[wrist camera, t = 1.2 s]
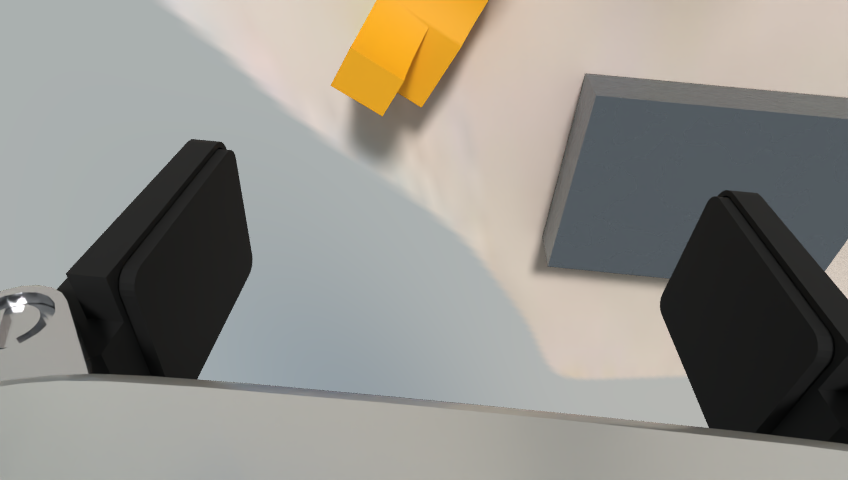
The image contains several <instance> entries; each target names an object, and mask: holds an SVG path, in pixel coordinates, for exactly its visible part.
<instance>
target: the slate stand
mask: <svg viewBox="0 0 848 480" xmlns="http://www.w3.org/2000/svg"><path fill="white" fill-rule="evenodd" d="M725 190H731V191H742V192H752V193H758V194H759V195H760V196H761V197H762V198H763V199H764V200H765V201H766V202H767V204H768V205H769V206H770V207H771V208H772V210H773V211H774V212H775V213H776V214H777V216H778V217H779V218H780V219H781V220H782V222H783V223H784V224H785V225H786V226H787V228H788V229H789V230H790V231H791V232H792V233H793V235H794V236H795V237H796V238H797V239H798V241H799V242H800V243H801V244H802V245H803V247H804V248H805V249H806V250H807V251H808V253H809V254H810V255H811V256H812V257H813V259H814V260H815V261H816V262H817V263H818V264H819V266H820V267H821V268H822V269H823V270H824V271H825V270H826V269H827V267H828V266H829V264H830V263H831V262H832V260H833V259H834V258H835V256H836V255H837V253H838V252H839V251H840V249H841V248H842V246H843V245H844V244H845V242H846V241H847V239H848V98H842V97H831V96H820V95H810V94H799V93H788V92H778V91H767V90H756V89H745V88H735V87H724V86H713V85H703V84H692V83H681V82H671V81H660V80H649V79H638V78H628V77H617V76H606V75H596V74H585V78H584V81H583V85H582V89H581V93H580V97H579V100H578V104H577V108H576V112H575V116H574V119H573V123H572V127H571V131H570V135H569V138H568V142H567V146H566V150H565V154H564V157H563V161H562V165H561V169H560V173H559V176H558V180H557V184H556V188H555V192H554V196H553V199H552V203H551V207H550V211H549V215H548V218H547V222H546V226H545V230H544V234H543V242H544V248H545V253H546V259H547V265H548V266H549V267H559V268H569V269H579V270H589V271H599V272H609V273H619V274H629V275H639V276H649V277H659V278H669V279H670V278H671V276H672V273H673V271H674V269H675V267H676V265H677V263H678V261H679V259H680V257H681V255H682V253H683V251H684V249H685V247H686V245H687V243H688V241H689V239H690V237H691V235H692V232H693V230H694V228H695V226H696V224H697V222H698V220H699V218H700V216H701V214H702V212H703V210H704V208H705V206H706V204H707V202H708V200H709V199H710V198H711V197H714V196H718V195H719V194H720V193H721V192H722V191H725Z"/></svg>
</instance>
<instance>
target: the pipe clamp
mask: <svg viewBox="0 0 848 480" xmlns="http://www.w3.org/2000/svg"><path fill="white" fill-rule="evenodd" d="M488 1H489V0H377V1H376V2H375V4H374V6H373V8H372V10H371V12H370V14H369V15H368V17H367V19H366V21H365V23H364V24H363V26H362V28H361V30H360V32H359V33H358V35H357V37H356V39H355V41H354V42H353V44H352V46H351V47H350V49H349V51H348V53H347V55H346V57H345V59H344V61H343V63H342V65H341V67H340V69H339V71H338V72H337V74H336V76H335V78H334V80H333V82H332V84H331V86H332V87H334V88H336V89H337V90H339V91H341V92H342V93H344V94H346V95H347V96H349V97H351V98H352V99H354V100H356V101H357V102H359V103H361V104H363V105H364V106H366V107H368V108H369V109H371V110H373V111H374V112H376V113H378V114H379V115H381V116H383V115H384V113H385V111H386V110H387V108H388V107H389V105H390V103H391V102H392V100H393V98H394V97H395V95H396V94H397V93H399V94H400V95H402V96H403V97H405V98H407V99H408V100H410V101H412V102H413V103H415V104H416V105H418V106H420V107H421V108H422V106H423V105H424V103H425V102H426V100H427V98H428V97H429V95H430V94H431V92H432V91H433V89H434V88H435V86H436V85H437V83H438V82H439V80H440V79H441V77H442V76H443V74H444V73H445V71H446V70H447V68H448V67H449V65H450V63H451V62H452V60H453V59H454V57H455V56H456V54H457V53H458V51H459V50H460V48H461V47H462V45H463V43H464V41H465V39H466V37H467V35H468V34H469V32H470V30H471V28H472V27H473V25H474V23H475V22H476V20H477V18H478V17H479V15H480V13H481V12H482V10H483V8H484V7H485V5H486V4H487V2H488Z"/></svg>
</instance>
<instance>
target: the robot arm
mask: <svg viewBox="0 0 848 480" xmlns="http://www.w3.org/2000/svg"><path fill="white" fill-rule="evenodd" d="M251 267H252V252H251V246H250V241H249V234H248V228H247V222H246V216H245V210H244V204H243V199H242V192H241V187H240V181H239V175H238V169H237V163H236V158H235V154H234V152H233V151H232V150H226V147H225V145H224V144H223V143H222V142H216V141H206V140H195V139H191V140H190V141H188V142H187V143H186V144H185V145H184V147H183V148H182V149H181V150H180V151H179V152H178V153H177V154H176V155H175V156H174V157H173V158H172V160H171V161H170V162H169V163H168V164H167V165H166V166H165V167H164V168H163V169H162V170H161V171H160V172H159V174H158V175H157V176H156V177H155V178H154V179H153V180H152V181H151V182H150V183H149V184H148V185H147V187H146V188H145V189H144V190H143V191H142V192H141V193H140V194H139V195H138V196H137V197H136V199H135V200H134V201H133V202H132V203H131V204H130V205H129V206H128V207H127V208H126V209H125V210H124V211H123V213H122V214H121V215H120V216H119V217H118V218H117V219H116V220H115V221H114V222H113V223H112V224H111V226H110V227H109V228H108V229H107V230H106V231H105V232H104V233H103V234H102V235H101V236H100V237H99V238H98V240H97V241H96V242H95V243H94V244H93V245H92V246H91V247H90V248H89V249H88V250H87V251H86V253H85V254H84V255H83V256H82V257H81V258H80V259H79V260H78V261H77V262H76V263H75V264H74V265H73V267H72V268H71V269H70V270H69V271H68V272H67V273H66V275H67V277H68V278H67V279H66V280H65V281H64V282H63V283H62V284H61V285H60V286H59V288H58V289H57V290H56V289H54V288H52V287H46V286H40V285H32V286H20V287H15V288H11V289H6V290H3V291H0V480H848V299H847V298H846V297H845V295H844V294H843V293H842V292H841V291H840V290H839V288H838V287H837V286H836V285H835V284H834V282H833V281H832V280H831V279H830V278H829V276H828V275H827V274H826V273H825V272H824V270H823V269H822V268H821V267H820V266H819V264H818V263H817V262H816V261H815V260H814V259H813V257H812V256H811V255H810V254H809V253H808V251H807V250H806V249H805V248H804V247H803V245H802V244H801V243H800V242H799V241H798V239H797V238H796V237H795V236H794V235H793V233H792V232H791V231H790V230H789V229H788V228H787V226H786V225H785V224H784V223H783V222H782V220H781V219H780V218H779V217H778V216H777V214H776V213H775V212H774V211H773V210H772V208H771V207H770V206H769V205H768V204H767V202H766V201H765V200H764V199H763V198H762V197H761V196H760V195H759V194H758V193H752V192H742V191H731V190H725V191H722V192H721V193H720V194H719V195H718V196H714V197H711V198H710V199H709V200H708V202H707V204H706V206H705V208H704V210H703V212H702V214H701V216H700V218H699V220H698V222H697V224H696V226H695V228H694V230H693V232H692V235H691V237H690V239H689V241H688V243H687V245H686V247H685V249H684V251H683V253H682V255H681V257H680V259H679V261H678V263H677V265H676V267H675V269H674V271H673V273H672V276H671V278H670V280H669V282H668V284H667V286H666V288H665V290H664V292H663V294H662V297H661V301H660V310H661V314H662V316H663V319H664V321H665V323H666V326H667V328H668V331H669V333H670V335H671V338H672V340H673V343H674V345H675V347H676V350H677V352H678V355H679V357H680V359H681V362H682V364H683V367H684V369H685V371H686V374H687V376H688V379H689V381H690V383H691V386H692V388H693V390H694V393H695V395H696V398H697V400H698V402H699V405H700V407H701V410H702V412H703V414H704V417H705V419H706V422H707V424H708V426H709V428H703V427H693V426H683V425H673V424H663V423H653V422H644V421H634V420H624V419H614V418H605V417H596V416H585V415H575V414H565V413H555V412H545V411H534V410H524V409H515V408H504V407H494V406H483V405H473V404H463V403H453V402H442V401H431V400H421V399H411V398H401V397H390V396H379V395H368V394H357V393H346V392H336V391H324V390H314V389H302V388H292V387H281V386H270V385H260V384H248V383H235V382H222V381H209V380H197V378H198V376H199V374H200V372H201V370H202V368H203V366H204V364H205V362H206V360H207V358H208V356H209V354H210V352H211V350H212V348H213V346H214V344H215V342H216V340H217V338H218V336H219V334H220V332H221V330H222V328H223V326H224V324H225V322H226V320H227V318H228V316H229V314H230V312H231V310H232V308H233V306H234V304H235V302H236V300H237V298H238V296H239V294H240V292H241V290H242V288H243V286H244V284H245V282H246V280H247V278H248V276H249V274H250V271H251Z"/></svg>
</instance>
